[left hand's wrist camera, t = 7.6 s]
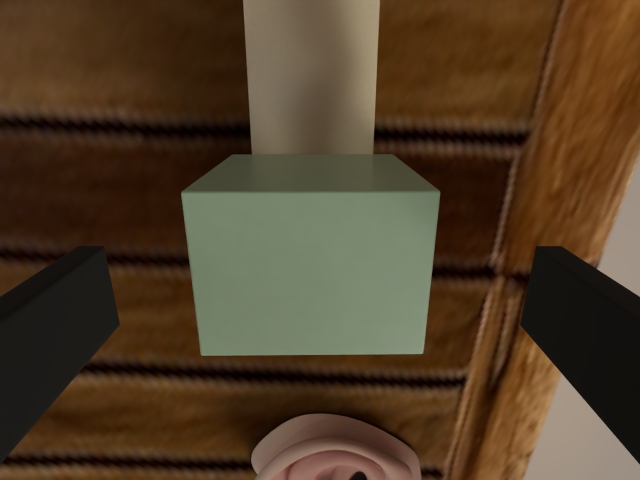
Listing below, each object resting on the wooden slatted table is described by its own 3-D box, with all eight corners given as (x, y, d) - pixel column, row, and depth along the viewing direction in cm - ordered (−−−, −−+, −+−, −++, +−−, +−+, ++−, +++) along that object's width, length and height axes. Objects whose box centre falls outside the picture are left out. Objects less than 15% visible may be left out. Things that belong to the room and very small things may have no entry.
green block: (239, 266, 22) (200, 356, 14) (231, 154, 20) (180, 191, 12) (386, 265, 22) (423, 354, 14) (393, 154, 20) (441, 190, 12)
